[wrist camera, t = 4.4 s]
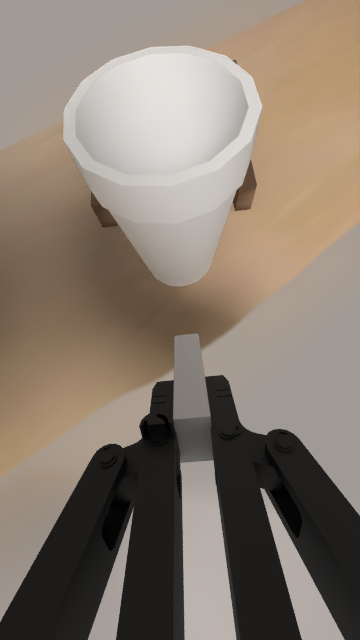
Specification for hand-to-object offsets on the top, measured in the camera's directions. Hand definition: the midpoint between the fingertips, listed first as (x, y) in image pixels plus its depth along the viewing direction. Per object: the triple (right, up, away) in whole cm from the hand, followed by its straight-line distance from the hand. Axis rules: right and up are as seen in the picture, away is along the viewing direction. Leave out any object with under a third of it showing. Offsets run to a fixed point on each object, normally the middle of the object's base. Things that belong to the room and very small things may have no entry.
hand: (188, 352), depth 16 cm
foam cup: (-1, +8, +8) cm, 11 cm away
